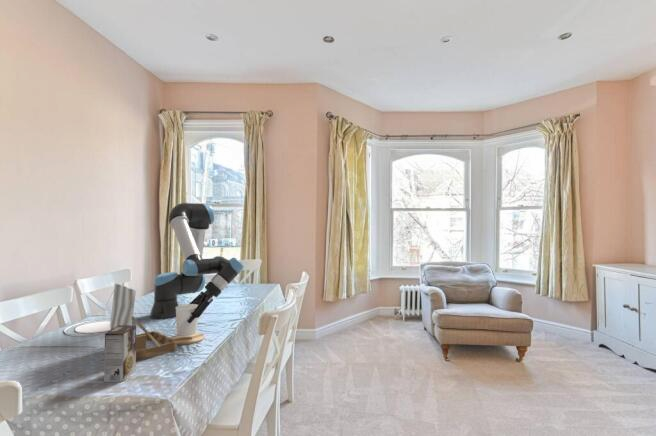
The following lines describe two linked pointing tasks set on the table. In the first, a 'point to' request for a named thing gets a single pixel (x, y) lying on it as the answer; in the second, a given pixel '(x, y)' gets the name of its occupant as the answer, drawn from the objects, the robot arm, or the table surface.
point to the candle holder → (182, 315)
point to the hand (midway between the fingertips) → (179, 325)
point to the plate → (92, 327)
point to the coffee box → (120, 353)
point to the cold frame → (124, 316)
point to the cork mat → (188, 339)
